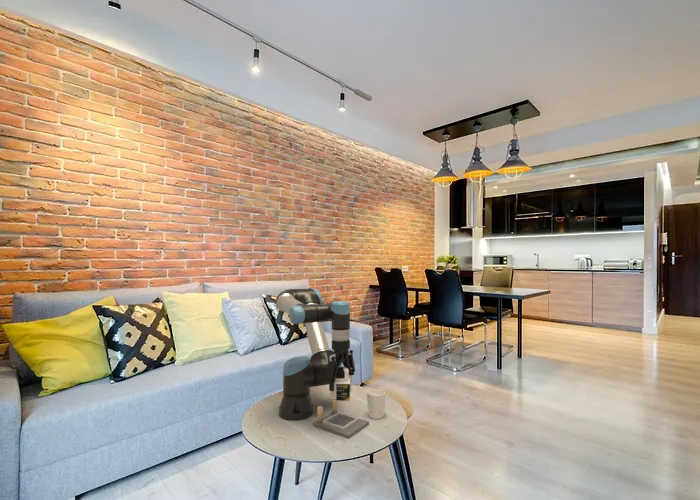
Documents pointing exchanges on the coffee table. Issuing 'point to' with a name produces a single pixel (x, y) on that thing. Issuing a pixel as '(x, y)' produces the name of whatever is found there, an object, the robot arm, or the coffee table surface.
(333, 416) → the peg board
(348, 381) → the medicine bottle
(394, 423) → the coffee table surface
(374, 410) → the white cup
